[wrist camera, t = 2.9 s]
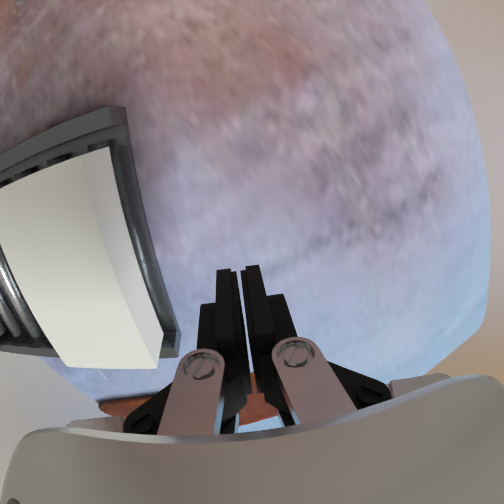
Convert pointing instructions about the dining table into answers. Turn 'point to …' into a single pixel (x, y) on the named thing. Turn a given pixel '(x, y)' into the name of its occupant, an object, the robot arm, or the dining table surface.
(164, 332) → the roller track
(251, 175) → the dining table surface
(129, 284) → the slab
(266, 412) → the wooden tablet
